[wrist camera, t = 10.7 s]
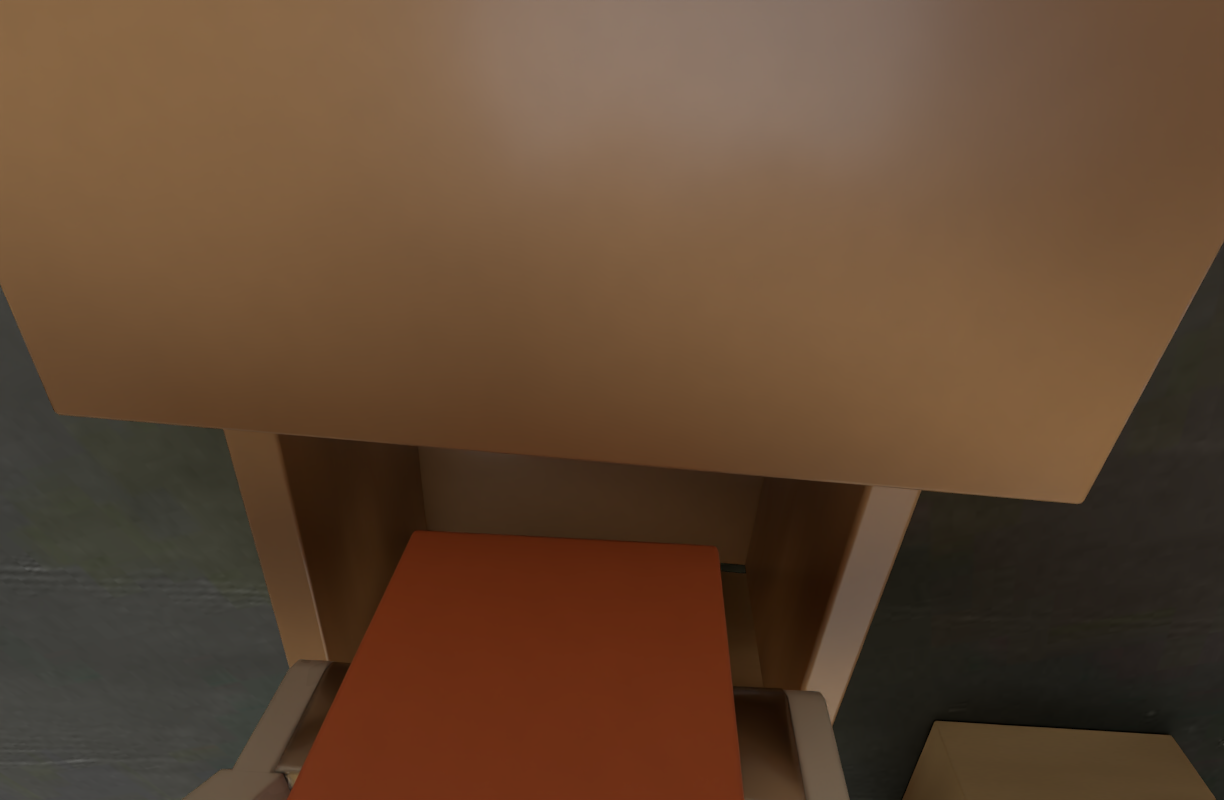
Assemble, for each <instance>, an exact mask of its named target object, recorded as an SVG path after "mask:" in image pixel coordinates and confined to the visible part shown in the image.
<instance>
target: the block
mask: <svg viewBox="0 0 1224 800" xmlns="http://www.w3.org/2000/svg"><path fill="white" fill-rule="evenodd" d="M287 800H745V799H744V790H743V780H742V771H741V761H740V751H739V742H738V732H737V723H736V713H735V704H734V694H733V684H732V675H731V665H730V656H729V646H728V637H727V627H726V617H725V608H724V598H723V589H722V579H721V569H720V560H719V552H718V549H717V547H716V546H713V545H699V544H680V543H660V542H641V541H622V540H603V539H583V538H564V537H545V536H526V535H507V534H487V533H468V532H449V531H430V530H416V531H414V532H413V533H412V535H411V537H410V540H409V542H408V544H407V546H406V548H405V550H404V552H403V554H402V557H401V559H400V561H399V563H398V565H397V567H396V569H395V571H394V573H393V576H392V578H391V580H390V582H389V584H388V586H387V588H386V590H385V593H384V595H383V597H382V599H381V601H380V603H379V605H378V607H377V610H376V612H375V614H374V616H373V618H372V620H371V622H370V624H369V626H368V629H367V631H366V633H365V635H364V637H363V639H362V641H361V643H360V646H359V648H358V650H357V652H356V654H355V656H354V658H353V660H352V662H351V665H350V667H349V669H348V671H347V673H346V675H345V677H344V679H343V682H342V684H341V686H340V688H339V690H338V692H337V694H336V696H335V698H334V701H333V703H332V705H331V707H330V709H329V711H328V713H327V715H326V718H325V720H324V722H323V724H322V726H321V728H320V730H319V732H318V734H317V737H316V739H315V741H314V743H313V745H312V747H311V749H310V751H309V754H308V756H307V758H306V760H305V762H304V764H303V766H302V768H301V770H300V773H299V775H298V777H297V779H296V781H295V783H294V785H293V787H292V790H291V792H290V794H289V796H288V798H287Z"/></svg>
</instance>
